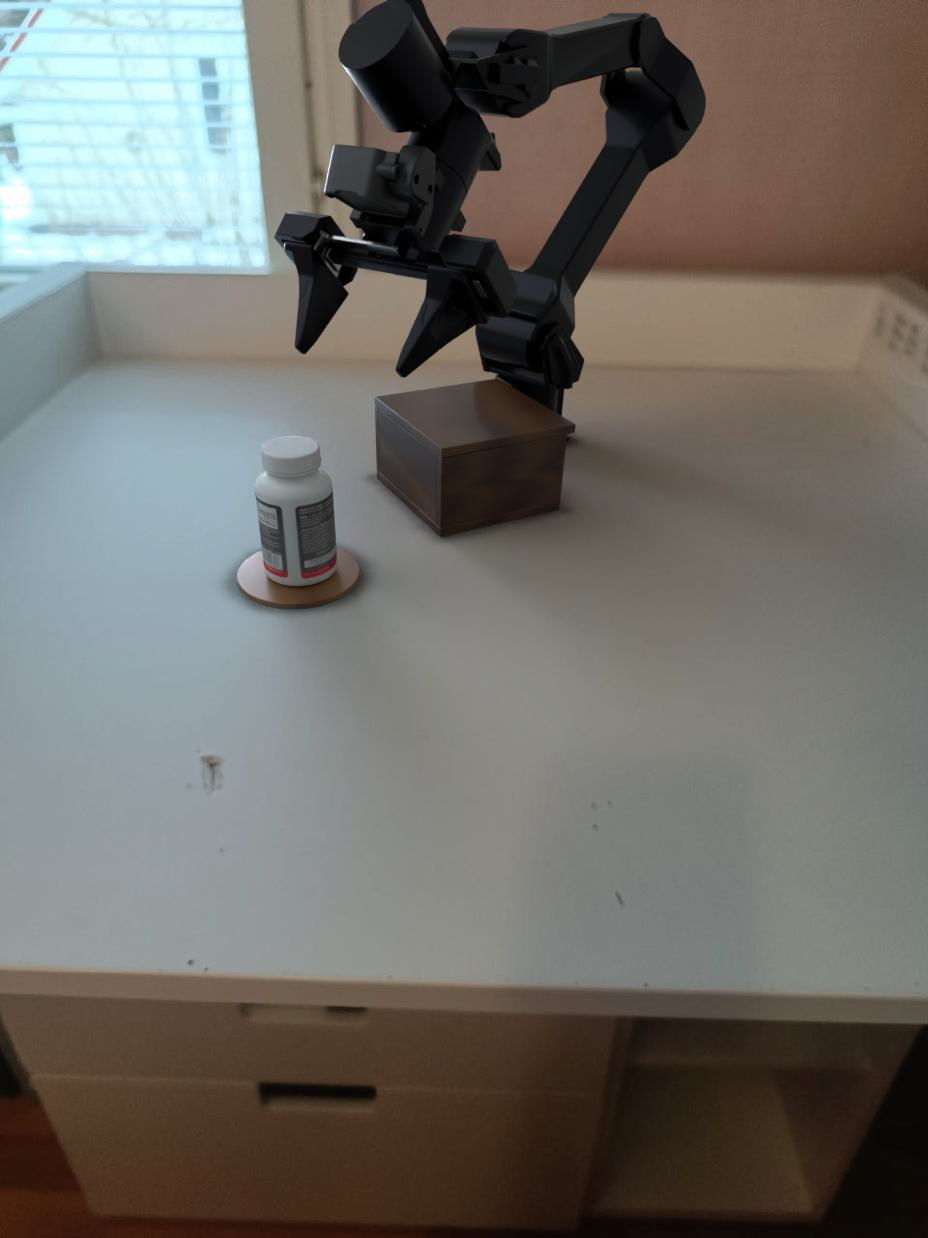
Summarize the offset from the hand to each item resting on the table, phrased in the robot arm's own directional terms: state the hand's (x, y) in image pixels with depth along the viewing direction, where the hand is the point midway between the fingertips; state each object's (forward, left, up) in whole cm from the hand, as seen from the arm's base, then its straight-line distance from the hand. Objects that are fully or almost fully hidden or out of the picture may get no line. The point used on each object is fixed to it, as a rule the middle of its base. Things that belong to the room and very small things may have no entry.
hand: (348, 362), depth 64 cm
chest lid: (-12, -2, -7) cm, 14 cm away
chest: (-11, -2, -14) cm, 18 cm away
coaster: (+7, +5, -14) cm, 16 cm away
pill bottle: (+7, +5, -13) cm, 16 cm away
